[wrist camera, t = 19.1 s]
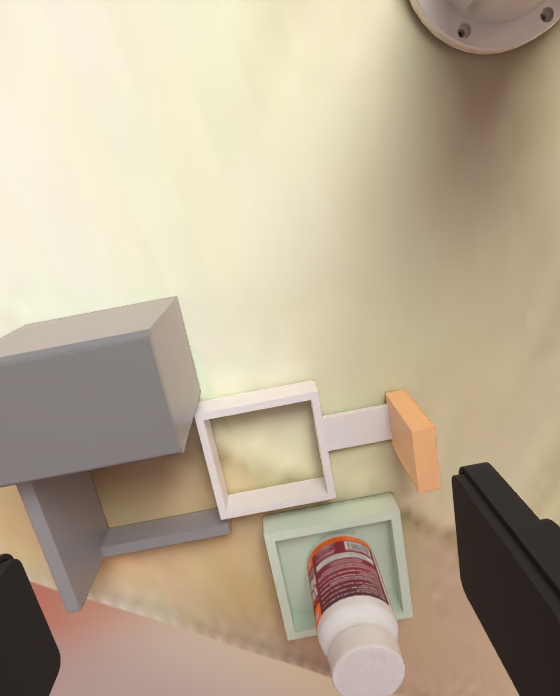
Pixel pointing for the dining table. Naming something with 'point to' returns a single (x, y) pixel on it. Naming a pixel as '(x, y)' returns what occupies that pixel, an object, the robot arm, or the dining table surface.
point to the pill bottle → (354, 617)
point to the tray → (319, 522)
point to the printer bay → (96, 429)
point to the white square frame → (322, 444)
